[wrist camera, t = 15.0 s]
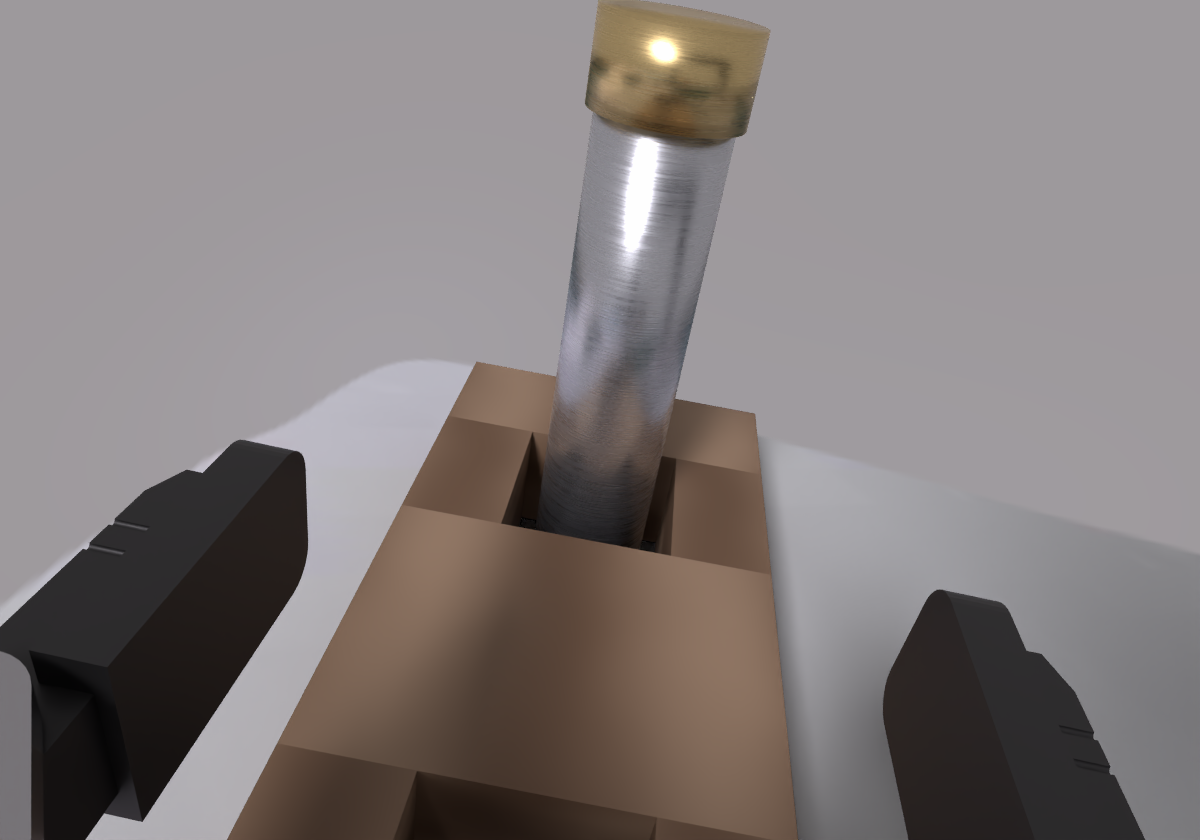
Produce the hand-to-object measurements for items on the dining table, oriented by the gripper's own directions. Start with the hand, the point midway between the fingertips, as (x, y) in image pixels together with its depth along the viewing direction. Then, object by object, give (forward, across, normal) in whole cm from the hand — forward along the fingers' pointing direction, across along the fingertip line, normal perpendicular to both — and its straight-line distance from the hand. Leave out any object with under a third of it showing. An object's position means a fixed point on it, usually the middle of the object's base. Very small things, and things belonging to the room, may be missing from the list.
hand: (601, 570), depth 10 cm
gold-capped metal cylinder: (+11, 0, +10) cm, 15 cm away
